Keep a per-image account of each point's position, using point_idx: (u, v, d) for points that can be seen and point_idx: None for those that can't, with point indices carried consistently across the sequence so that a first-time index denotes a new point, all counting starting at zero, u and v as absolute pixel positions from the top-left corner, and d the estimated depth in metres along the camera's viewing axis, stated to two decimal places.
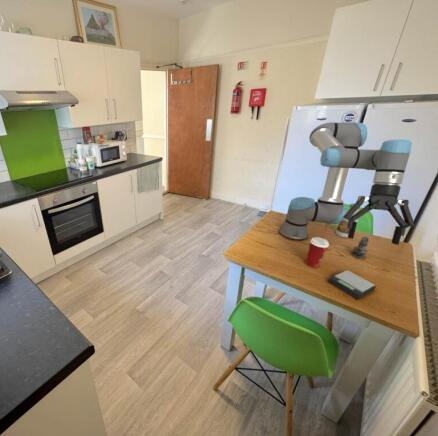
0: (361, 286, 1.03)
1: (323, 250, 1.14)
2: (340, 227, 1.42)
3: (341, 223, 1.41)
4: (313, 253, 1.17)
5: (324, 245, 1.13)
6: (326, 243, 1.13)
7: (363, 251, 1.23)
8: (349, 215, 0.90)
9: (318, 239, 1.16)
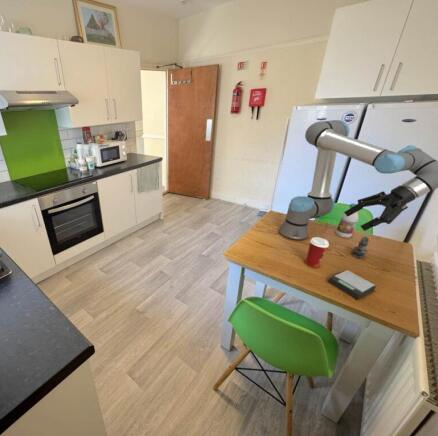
0: (361, 286, 1.03)
1: (323, 250, 1.14)
2: (340, 227, 1.42)
3: (341, 223, 1.41)
4: (313, 253, 1.17)
5: (324, 245, 1.13)
6: (326, 243, 1.13)
7: (363, 251, 1.23)
8: None
9: (318, 239, 1.16)
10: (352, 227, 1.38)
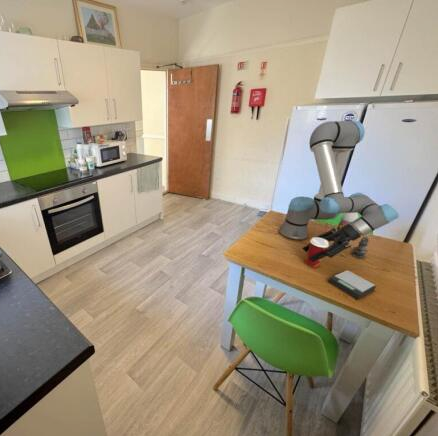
0: (361, 286, 1.03)
1: (323, 250, 1.14)
2: (340, 227, 1.42)
3: (341, 223, 1.41)
4: (313, 253, 1.17)
5: (324, 245, 1.13)
6: (326, 243, 1.13)
7: (363, 251, 1.23)
8: None
9: (318, 239, 1.16)
10: None
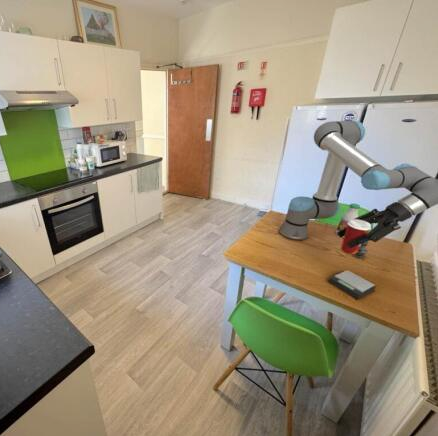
0: (361, 286, 1.03)
1: (364, 234, 0.97)
2: (340, 227, 1.42)
3: (341, 223, 1.41)
4: (351, 238, 1.00)
5: (366, 227, 0.96)
6: (368, 225, 0.96)
7: (363, 251, 1.23)
8: None
9: (358, 221, 0.99)
10: None
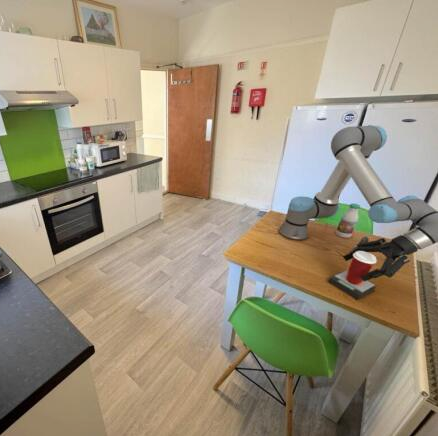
0: (361, 286, 1.03)
1: (370, 266, 0.98)
2: (340, 227, 1.42)
3: (341, 223, 1.41)
4: (357, 270, 1.00)
5: (371, 261, 0.96)
6: (374, 258, 0.97)
7: None
8: None
9: (363, 253, 1.00)
10: (352, 227, 1.38)
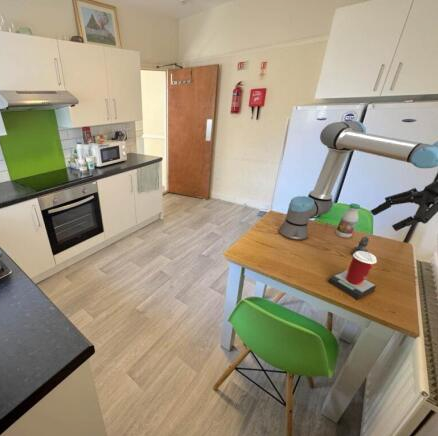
0: (361, 286, 1.03)
1: (370, 266, 0.98)
2: (340, 227, 1.42)
3: (341, 223, 1.41)
4: (357, 270, 1.00)
5: (372, 261, 0.96)
6: (374, 258, 0.97)
7: None
8: None
9: (363, 253, 1.00)
10: (352, 227, 1.38)
